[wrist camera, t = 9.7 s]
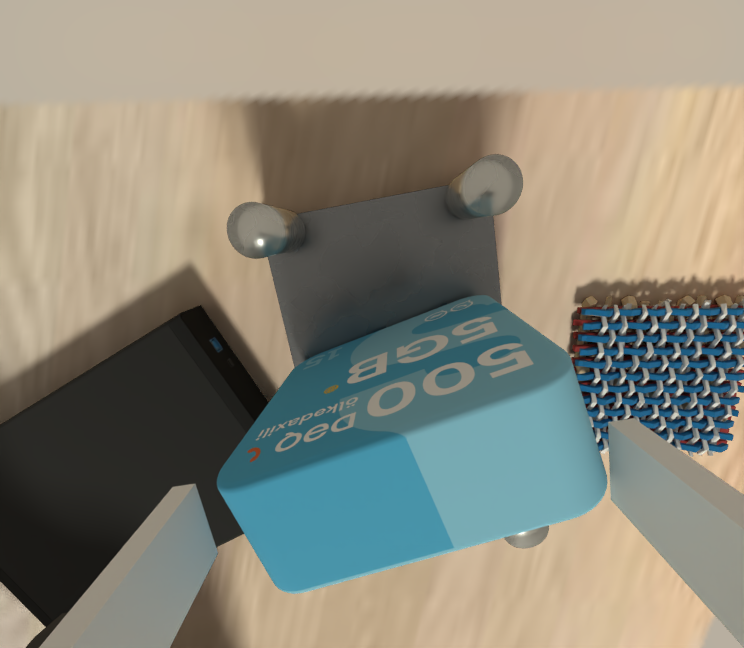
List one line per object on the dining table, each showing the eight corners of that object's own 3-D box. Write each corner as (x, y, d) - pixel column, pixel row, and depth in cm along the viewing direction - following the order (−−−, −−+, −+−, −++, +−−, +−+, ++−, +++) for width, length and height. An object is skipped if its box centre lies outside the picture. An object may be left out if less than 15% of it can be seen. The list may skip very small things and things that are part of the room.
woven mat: (710, 443, 25) (738, 462, 23) (551, 443, 25) (566, 460, 23) (746, 292, 22) (781, 298, 20) (569, 293, 23) (587, 299, 21)
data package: (483, 289, 21) (593, 365, 9) (507, 358, 22) (635, 507, 10) (296, 361, 23) (193, 500, 11) (326, 422, 24) (260, 608, 12)
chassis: (330, 497, 26) (315, 572, 20) (263, 214, 22) (218, 207, 16) (513, 473, 25) (552, 545, 19) (483, 172, 21) (523, 148, 15)
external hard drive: (-45, 456, 27) (-97, 484, 24) (204, 303, 23) (178, 313, 20) (82, 591, 30) (49, 630, 27) (321, 472, 26) (313, 502, 23)
